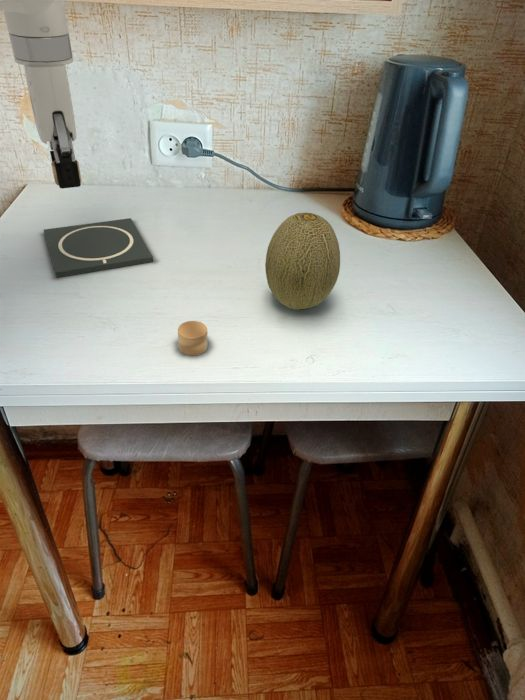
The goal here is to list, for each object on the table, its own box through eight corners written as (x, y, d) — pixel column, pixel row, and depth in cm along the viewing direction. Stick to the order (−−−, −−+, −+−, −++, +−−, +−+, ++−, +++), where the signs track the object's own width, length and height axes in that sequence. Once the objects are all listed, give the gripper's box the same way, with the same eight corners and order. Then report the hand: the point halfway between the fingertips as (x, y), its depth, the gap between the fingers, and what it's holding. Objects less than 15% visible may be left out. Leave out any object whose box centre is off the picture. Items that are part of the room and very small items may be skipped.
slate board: (56, 277, 83) (55, 271, 82) (44, 234, 94) (43, 228, 93) (153, 261, 88) (152, 255, 88) (131, 222, 99) (130, 217, 99)
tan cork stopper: (183, 358, 69) (182, 341, 67) (175, 341, 72) (173, 324, 70) (211, 351, 71) (211, 334, 69) (201, 335, 73) (201, 318, 71)
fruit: (328, 329, 76) (344, 238, 66) (255, 317, 77) (261, 226, 68) (336, 290, 85) (351, 204, 75) (270, 279, 86) (277, 194, 77)
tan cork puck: (57, 188, 79) (52, 168, 77) (53, 178, 81) (49, 159, 79) (83, 185, 80) (80, 166, 78) (79, 175, 83) (76, 157, 81)
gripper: (7, 38, 73) (37, 165, 85) (17, 62, 62) (49, 205, 73) (62, 37, 76) (83, 160, 88) (81, 61, 64) (102, 199, 76)
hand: (67, 180), depth 80 cm, fingers closed on tan cork puck, 4 cm apart
